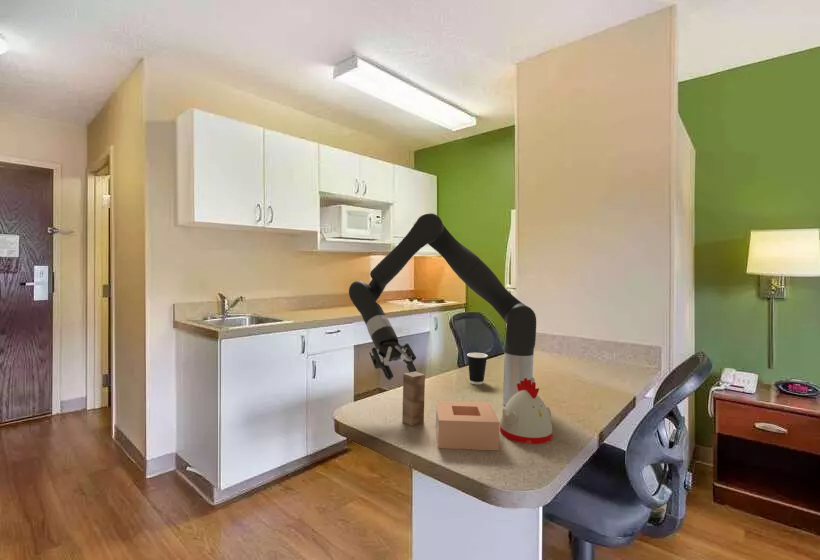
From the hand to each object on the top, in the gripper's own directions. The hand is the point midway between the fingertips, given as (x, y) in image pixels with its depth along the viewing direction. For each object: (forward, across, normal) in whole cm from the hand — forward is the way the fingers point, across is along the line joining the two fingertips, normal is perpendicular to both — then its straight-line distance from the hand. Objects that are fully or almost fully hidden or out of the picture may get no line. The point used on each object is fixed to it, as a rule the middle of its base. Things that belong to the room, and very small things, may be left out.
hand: (402, 376), depth 124 cm
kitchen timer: (+29, +20, -12) cm, 38 cm away
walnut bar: (+12, 0, +5) cm, 13 cm away
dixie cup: (0, +46, +17) cm, 49 cm away
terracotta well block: (+24, +5, -6) cm, 25 cm away
